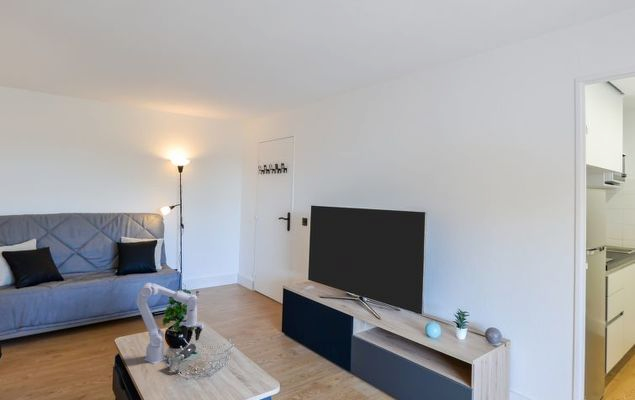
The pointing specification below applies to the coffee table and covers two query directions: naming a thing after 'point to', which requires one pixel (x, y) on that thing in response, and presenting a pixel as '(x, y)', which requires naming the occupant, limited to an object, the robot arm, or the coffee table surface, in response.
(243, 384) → the coffee table surface
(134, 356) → the coffee table surface
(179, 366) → the socket
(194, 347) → the drill
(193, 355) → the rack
